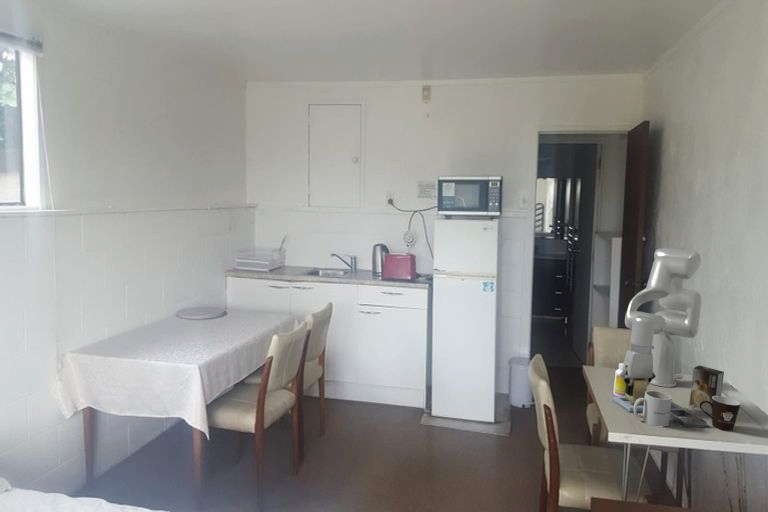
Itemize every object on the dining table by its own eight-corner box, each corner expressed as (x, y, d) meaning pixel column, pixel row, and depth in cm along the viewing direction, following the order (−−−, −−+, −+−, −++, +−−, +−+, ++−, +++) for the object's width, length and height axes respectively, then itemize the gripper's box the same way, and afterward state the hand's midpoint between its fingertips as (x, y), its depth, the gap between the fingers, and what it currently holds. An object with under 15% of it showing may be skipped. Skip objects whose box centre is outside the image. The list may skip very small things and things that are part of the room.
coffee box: (720, 412, 209) (725, 371, 207) (713, 415, 205) (719, 374, 203) (694, 404, 216) (699, 364, 214) (687, 407, 212) (692, 367, 210)
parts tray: (638, 400, 216) (638, 396, 216) (656, 411, 205) (656, 407, 205) (612, 400, 214) (613, 396, 214) (629, 412, 203) (630, 407, 203)
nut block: (636, 398, 212) (639, 375, 211) (645, 403, 207) (648, 380, 206) (624, 398, 212) (626, 375, 210) (632, 403, 206) (635, 380, 205)
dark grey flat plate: (665, 402, 215) (665, 397, 215) (706, 427, 194) (706, 421, 193) (644, 403, 214) (644, 398, 213) (683, 427, 192) (684, 421, 192)
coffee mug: (738, 427, 195) (742, 400, 193) (734, 434, 188) (738, 407, 187) (702, 417, 202) (705, 391, 201) (696, 424, 196) (700, 397, 195)
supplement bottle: (632, 399, 217) (636, 368, 215) (614, 397, 218) (618, 366, 217) (628, 393, 223) (632, 363, 222) (611, 391, 225) (614, 361, 223)
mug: (664, 418, 199) (667, 392, 198) (671, 428, 191) (675, 401, 190) (628, 414, 202) (631, 388, 200) (634, 423, 193) (637, 396, 192)
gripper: (654, 345, 212) (649, 390, 214) (614, 345, 209) (609, 391, 211) (667, 351, 205) (661, 398, 207) (626, 351, 202) (620, 398, 204)
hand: (635, 394), depth 209 cm, fingers closed on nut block, 5 cm apart
